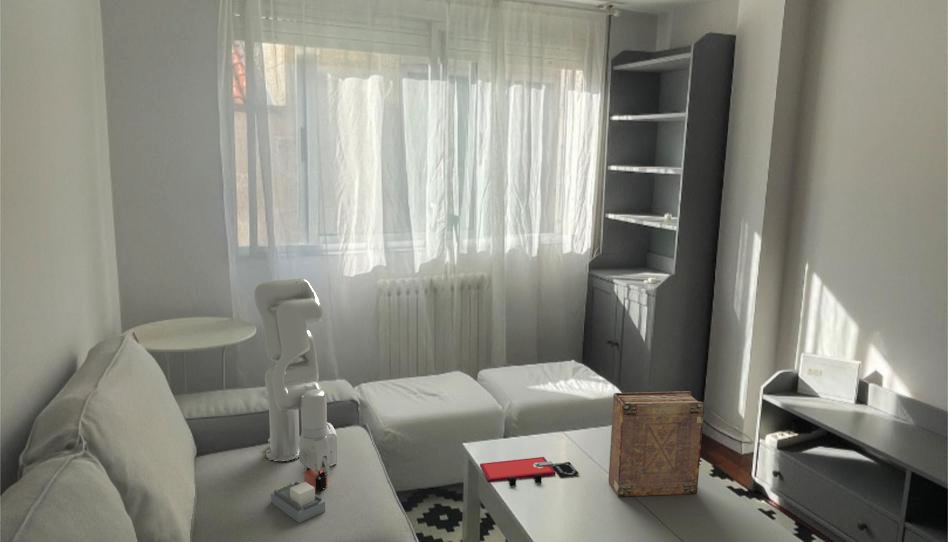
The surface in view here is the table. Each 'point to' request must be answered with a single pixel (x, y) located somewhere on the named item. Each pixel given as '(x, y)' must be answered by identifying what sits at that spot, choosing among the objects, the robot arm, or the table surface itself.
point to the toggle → (302, 494)
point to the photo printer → (332, 443)
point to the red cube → (311, 477)
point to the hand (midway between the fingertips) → (315, 485)
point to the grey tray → (292, 509)
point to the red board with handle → (525, 469)
